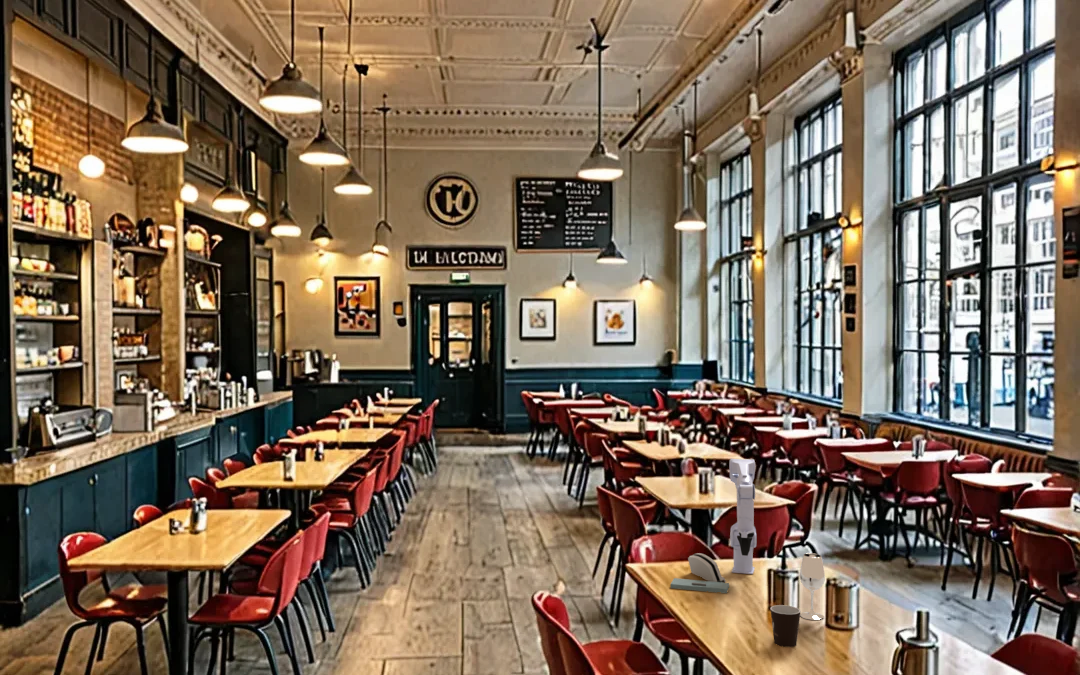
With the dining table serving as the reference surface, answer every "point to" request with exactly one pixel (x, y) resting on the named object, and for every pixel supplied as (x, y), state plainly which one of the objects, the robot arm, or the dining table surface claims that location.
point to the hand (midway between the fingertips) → (745, 553)
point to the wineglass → (812, 580)
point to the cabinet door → (699, 585)
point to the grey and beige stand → (705, 567)
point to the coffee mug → (785, 625)
